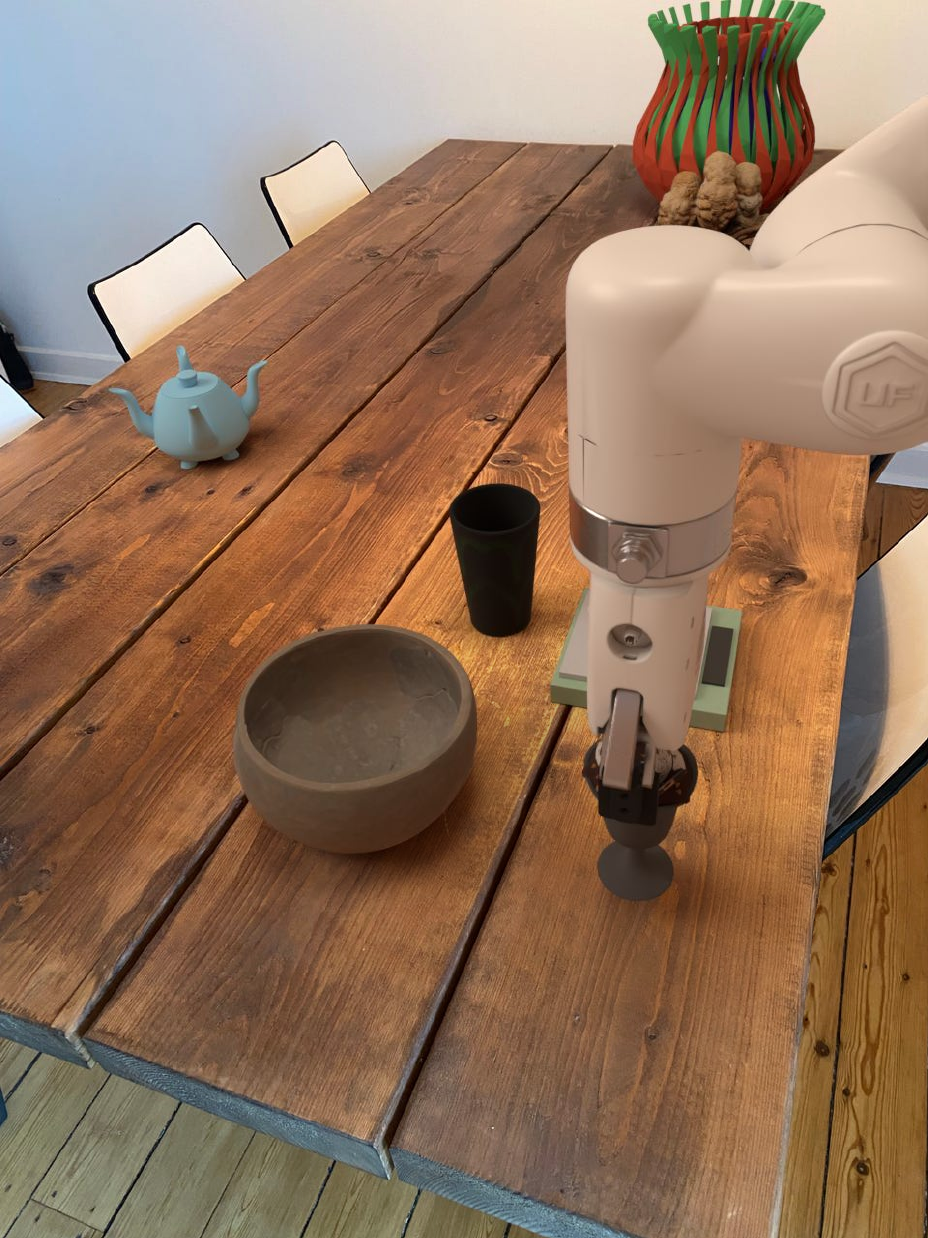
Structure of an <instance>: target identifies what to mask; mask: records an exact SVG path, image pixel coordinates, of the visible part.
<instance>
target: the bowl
mask: <svg viewBox="0 0 928 1238" xmlns="http://www.w3.org/2000/svg"><path fill="white" fill-rule="evenodd" d="M472 685H473V684H472V682H471V679H470V677H469V675H468V673H467V671H466V670H465V668H464V666H463V664H462V663H461V662H460V661H459V659H458V658H457V657H456V656H455V655H454V653H452V652H451V651H450V650H449V649H448V648H446V647H445V646H444V645H442V644H441V643H439V642H438V641H436V640H434V639H433V638H431V637H429V636H427V635H425V634H423V633H421V632H417V631H415V630H411V629H407V628H403V627H399V626H393V625H386V624H374V623H363V624H359V623H358V624H352V625H351V624H350V625H342V626H337V627H332V628H328V629H324V630H320V631H316V632H313V633H309V634H307V635H305V636H303V637H300V638H298V639H296V640H292V641H291V642H289V643H287V644H285V645H284V646H282V647H280V648H279V649H277V650H276V651H274V653H272V654H271V655H270V656H268V657H267V658H265V660H264V661H263V662H262V663H261V664H260V665H259V666H258V667H257V668H256V670H255V671H254V672H253V673H252V674H251V676H250V678H249V679H248V680H247V682H246V684H245V686H244V688H243V690H242V692H241V695H240V697H239V701H238V705H237V708H236V715H235V721H234V729H233V736H232V737H233V738H232V739H233V740H232V741H233V742H232V743H233V744H232V745H233V746H232V749H233V765H234V769H235V773H236V775H237V778H238V781H239V783H240V787H241V789H242V791H243V792H244V794H245V797H246V798H247V800H248V802H249V804H250V805H251V806H252V808H253V809H254V811H255V812H256V813H257V814H258V816H260V817H261V818H262V820H264V821H265V822H266V823H267V824H268V825H269V826H271V827H272V828H273V829H275V830H276V831H278V832H279V833H281V834H282V835H284V836H286V837H287V838H289V839H291V840H293V841H294V842H297V843H300V844H302V845H305V846H307V847H310V848H312V849H315V850H318V851H323V852H327V853H335V854H344V855H345V854H346V855H347V854H351V855H353V854H355V855H356V854H366V853H373V852H378V851H381V850H385V849H388V848H392V847H395V846H398V845H400V844H402V843H404V842H406V841H408V840H410V839H411V838H413V837H416V835H418V834H420V833H421V832H423V831H424V830H425V829H426V828H428V827H429V826H431V825H432V824H433V823H434V822H435V821H436V820H437V819H438V818H439V817H440V816H441V815H442V814H443V812H444V811H445V810H446V809H447V808H448V807H449V806H450V804H452V802H453V801H454V799H456V797H457V796H458V795H459V793H460V791H461V790H462V788H463V787H464V785H465V783H466V781H467V779H468V777H469V774H470V771H471V769H472V767H473V765H474V758H475V752H476V746H477V741H478V708H477V707H478V706H477V701H476V697H475V692H474V688H473V686H472Z"/></svg>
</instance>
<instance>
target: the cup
mask: <svg viewBox="0 0 928 1238" xmlns="http://www.w3.org/2000/svg"><path fill="white" fill-rule="evenodd" d="M448 514H449V515H448V516H449V520H450V525H451V530H452V535H453V536H452V537H453V542H454V545H455V551H456V556H457V560H458V565H459V571H460V575H461V580H462V585H463V590H464V595H465V599H466V604H467V610H468V615H469V620H470V623H471V625H472V627H473V628H474V629H475V630H476V631H477V632H479V633H480V634H482V635H485V636H487V637H488V636H489V637H495V638H504V637H505V638H506V637H510V636H515V635H516V634H519V633H520V632H522V631H524V630H525V629H526V628H527V626H529V624H530V622H531V618H532V610H533V598H534V597H533V596H534V587H535V575H536V565H537V564H536V563H537V555H538V553H537V552H538V543H539V542H538V541H539V530H540V519H541V502H540V500H539V499H538V497H537V496H536V495H535V494H534V493H532V492H531V491H530V490H528V489H527V488H524V487H522V486H519V485H515V484H512V483H501V482H500V483H499V482H498V483H486V484H480V485H476V486H473V487H470V488H468V489H466V490H464V491H462V492H461V493H460V494H459V495H457V496H456V497H455V498H454V499H453V500H452V501H451V503H450V505H449V508H448Z"/></svg>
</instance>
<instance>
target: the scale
mask: <svg viewBox="0 0 928 1238" xmlns="http://www.w3.org/2000/svg"><path fill="white" fill-rule="evenodd" d="M589 594H590V588H587V587H584V588H583V590H582V594H581V595H580V599H579V601H578V605H577V608H576V610H575V613H574V616H573V619H572V620H571V621H572V622H571V625H570V627H569V630H568V633H567V636H566V639H565V641H564V644H563V647H562V650H561V652H560V655H559V658H558V661H557V664H556V667H555V670H554V672H553V675H552V677H551V681H550V684H549V701H550V702H551V703H557V704H562V705H568V706H574V707H579V708H585V709H587V646H588V617H589V614H588V606H589ZM742 618H743V610H742V609H736V608H729V607H723V606H716V605H707V606H706V624H705V639H704V648H703V654H702V660H701V666H700V671H699V677H698V682H697V688H696V693H695V698H694V703H693V708H692V713H691V718H690V723H689V727H693V728H699V729H704V730H709V731H713V732H714V731H716V732H720V733H724V732H725V728H726V724H727V723H726V722H727V715H728V710H729V703H730V696H731V690H732V683H733V677H734V670H735V664H736V657H737V652H738V645H739V644H738V643H739V637H740V631H741V625H742Z"/></svg>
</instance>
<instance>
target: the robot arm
mask: <svg viewBox="0 0 928 1238" xmlns="http://www.w3.org/2000/svg"><path fill="white" fill-rule="evenodd" d="M769 214H770V215H769V216H768V217H767V219H766V220H765V222H764V223H763V225H762V226H761V228H760V230H759V231H758V233H757V234H756V236H755V237H753V241H752V243H751V245H750V251H748V249H747V248H746V247H745V246H744V245H742V244H741V243H740V242H738V241H737V240H735V239H734V238H732V237H730V236H728V235H726V234H724V233H720V232H717V231H713V230H709V229H704V228H698V227H691V226H678V225H662V226H660V225H650V226H649V225H648V226H642V227H636V228H632V229H626V230H622V231H619V232H615V233H612V234H609V235H606V236H604V237H602V238H599V239H598V240H596V241H594V242H593V243H591V244H590V245H589V246H588V247H587V248H585V249H584V250H583V251H582V252H581V253H579V255H578V256H577V258H576V259H575V261H574V262H573V264H572V266H571V268H570V269H569V273H568V276H567V281H566V286H565V307H564V309H565V356H566V357H565V358H566V360H565V361H566V404H567V405H566V407H567V409H566V412H567V442H568V449H567V450H568V461H567V462H568V507H569V508H568V509H569V511H568V512H569V513H568V514H569V544H570V549H571V551H572V554H573V555H574V558H576V560H577V561H578V562H579V563H580V565H582V566H583V567H584V568H585V569H587V570H588V571H589V572H590V575H589V576H590V577H589V580H590V581H589V589H590V594H589V606H588V614H589V617H588V646H587V708H586V709H587V710H586V711H587V722H588V728H589V730H590V731H591V733H592V734H593V735H594V736H595V738H596V739H600V738H601V737H603V741H602V751H601V761H600V765H599V768H598V800H597V813H598V815H599V816H600V817H602V818H603V817H604V818H609V819H614V820H616V821H619V822H623V823H628V824H634V823H635V824H640V825H645V826H654V825H655V824H656V820H657V812H658V798H659V783H660V773H658V772H656V771H655V765H656V756H657V748H658V749H663V750H670V751H675V750H677V749H679V748H680V747H681V746H682V745H683V744H684V745H685V742H686V739H687V736H688V731H689V727H690V726H689V723H690V718H691V713H692V708H693V703H694V698H695V693H696V688H697V682H698V677H699V671H700V666H701V660H702V654H703V648H704V639H705V624H706V606H707V604H708V594H709V583H710V581H709V580H710V574H712V573H713V572H714V571H716V570H717V569H719V567H720V566H721V565H722V564H724V562H725V561H726V560H727V558H728V556H729V554H730V552H731V548H732V540H733V529H734V521H735V513H736V512H735V511H736V503H737V494H738V486H739V480H740V471H741V462H742V455H743V443H744V439H745V440H751V441H757V442H763V443H770V444H774V445H780V446H785V447H789V448H790V447H791V448H795V449H802V450H805V451H806V450H807V451H812V452H813V451H814V452H820V453H827V454H833V455H842V456H843V455H845V456H858V457H859V456H879V455H881V456H882V455H887V454H894V453H899V452H903V451H906V450H910V449H913V448H915V447H918V446H921V445H923V444H925V443H928V92H927V93H925V94H924V95H923V96H921V97H919V98H918V99H917V100H915V101H913V102H912V103H910V104H909V105H908V106H906V107H905V108H903V109H902V110H900V111H898V112H897V113H896V114H894V115H892V117H890V118H889V119H887V120H886V121H885V122H883V123H882V124H880V125H878V127H876V128H875V129H873V130H872V131H871V132H869V133H867V134H866V135H865V136H863V137H862V138H860V139H858V141H856V142H855V143H853V144H852V145H851V146H849V147H848V148H846V149H845V150H843V151H842V152H840V153H839V154H838V155H837V156H835V157H834V158H832V159H830V161H828V162H826V163H825V164H824V165H823V166H821V167H820V168H818V169H817V170H816V171H814V172H813V173H812V174H811V175H809V176H808V177H807V178H805V179H804V180H803V181H801V182H800V184H799V185H797V186H796V187H795V188H794V189H793V190H792V191H790V192H789V194H787V195H786V196H785V197H784V198H783V199H782V200H781V201H780V203H779V204H777V206H776V207H775V208H774V209H773V210H772V211H771V213H769ZM636 742H641V743H646V747H645V756H644V763H641V762H635V761H634V755H635V748H636Z"/></svg>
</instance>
